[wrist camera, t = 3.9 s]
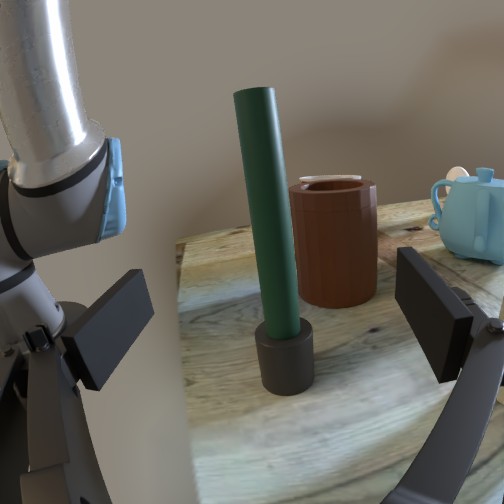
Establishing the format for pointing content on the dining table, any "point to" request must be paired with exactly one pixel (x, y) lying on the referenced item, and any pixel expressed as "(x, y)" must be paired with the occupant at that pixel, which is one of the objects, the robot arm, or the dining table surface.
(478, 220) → the decorative pot
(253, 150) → the green peg on base
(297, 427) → the dining table surface
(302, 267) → the brown mortar
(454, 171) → the light bulb
